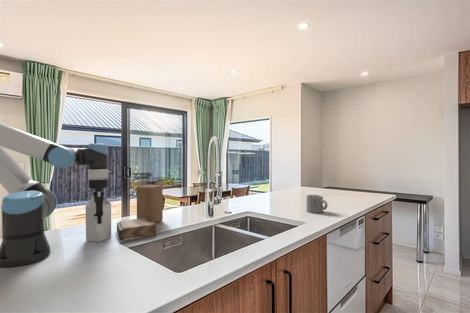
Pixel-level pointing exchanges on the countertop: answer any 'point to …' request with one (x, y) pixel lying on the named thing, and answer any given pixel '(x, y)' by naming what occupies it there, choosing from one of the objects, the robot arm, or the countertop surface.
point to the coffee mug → (315, 204)
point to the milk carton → (91, 221)
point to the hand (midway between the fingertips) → (98, 227)
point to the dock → (136, 228)
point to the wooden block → (150, 202)
